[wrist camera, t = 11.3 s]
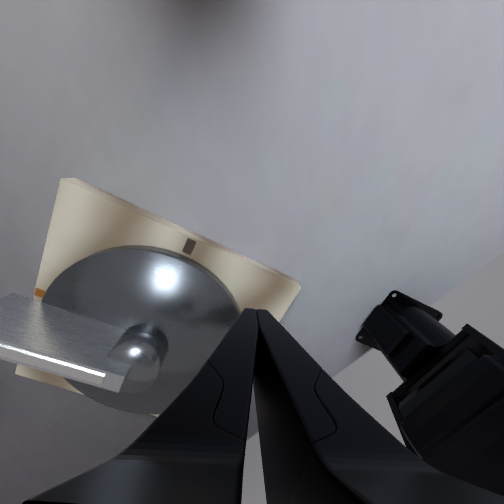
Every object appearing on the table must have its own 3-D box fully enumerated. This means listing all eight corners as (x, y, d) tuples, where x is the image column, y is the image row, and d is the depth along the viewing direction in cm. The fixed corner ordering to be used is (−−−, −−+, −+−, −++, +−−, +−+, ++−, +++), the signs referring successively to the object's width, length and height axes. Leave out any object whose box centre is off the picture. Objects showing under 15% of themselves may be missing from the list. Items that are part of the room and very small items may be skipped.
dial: (276, 292, 20) (286, 333, 15) (204, 420, 25) (194, 483, 20) (41, 197, 17) (-44, 210, 12) (12, 366, 22) (-56, 425, 17)
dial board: (297, 280, 22) (301, 288, 20) (210, 418, 27) (208, 433, 26) (75, 177, 18) (59, 178, 17) (28, 361, 24) (14, 374, 22)
